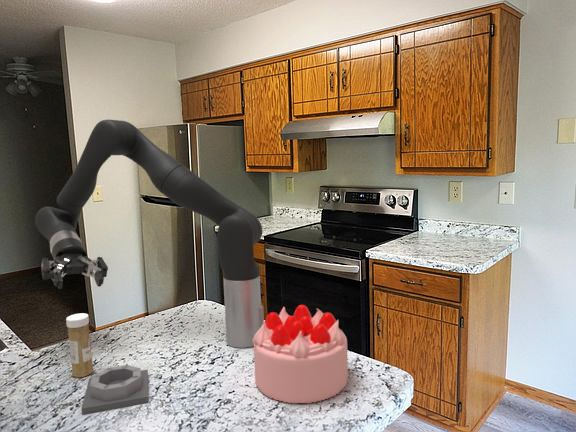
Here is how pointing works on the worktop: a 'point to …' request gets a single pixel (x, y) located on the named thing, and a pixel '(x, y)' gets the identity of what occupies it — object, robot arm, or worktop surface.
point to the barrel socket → (116, 389)
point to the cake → (300, 356)
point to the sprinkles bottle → (80, 344)
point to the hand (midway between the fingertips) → (81, 284)
